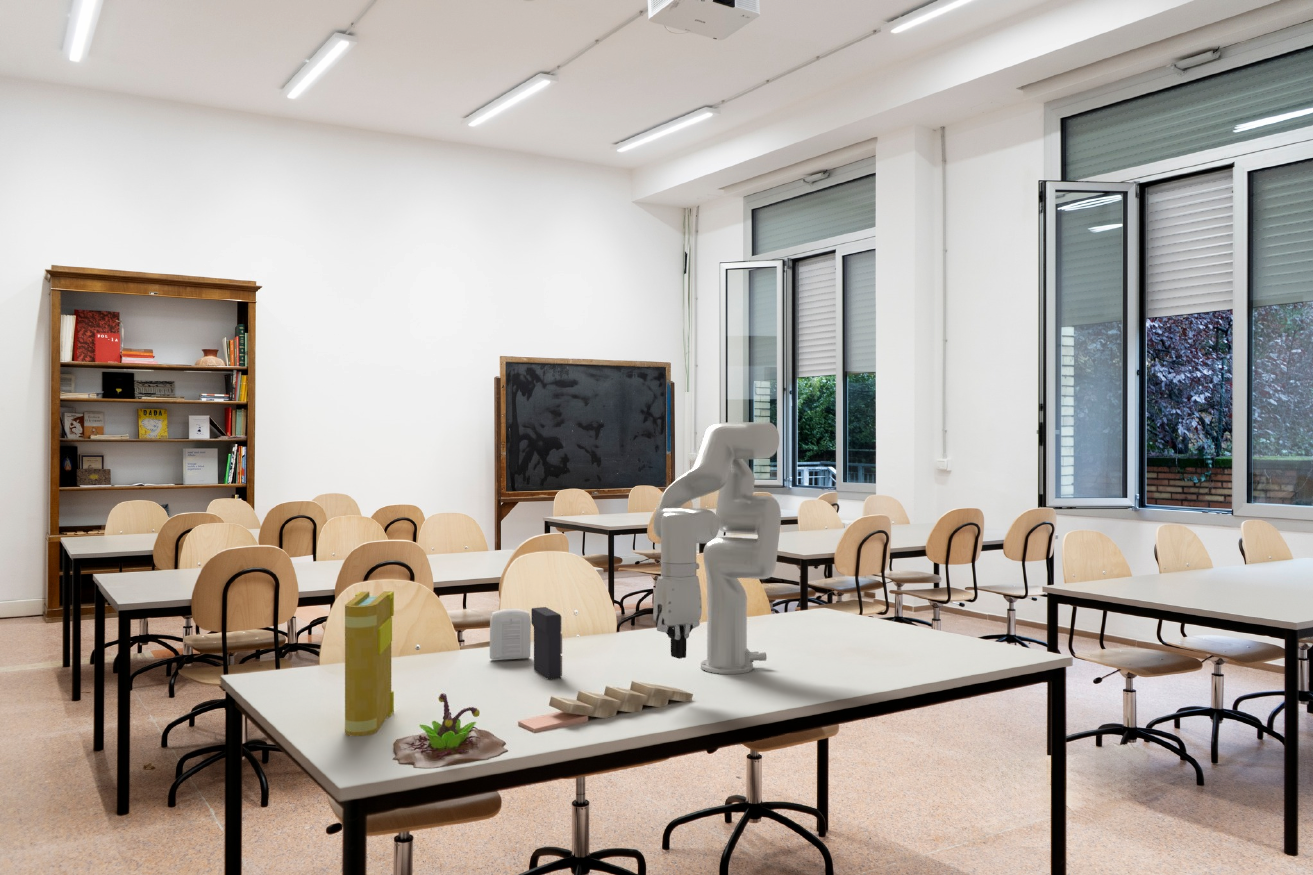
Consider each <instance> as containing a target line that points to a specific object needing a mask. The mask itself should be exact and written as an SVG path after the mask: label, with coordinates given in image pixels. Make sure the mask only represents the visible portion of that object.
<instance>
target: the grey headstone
mask: <svg viewBox="0 0 1313 875" xmlns="http://www.w3.org/2000/svg"><path fill="white" fill-rule="evenodd" d="M531 627H532V622H531V614H530V612H529V611H528V610H525V609H519V608H504V609H500V610H499V609H498V610H497V611H492V613H491V617H490V620H489V659H491V660H507V659H510V660H511V659H529V658H530V657H531V644H532V642H531V640H532V639H531V638H532V637H531V634H532V632H531Z"/></svg>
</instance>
